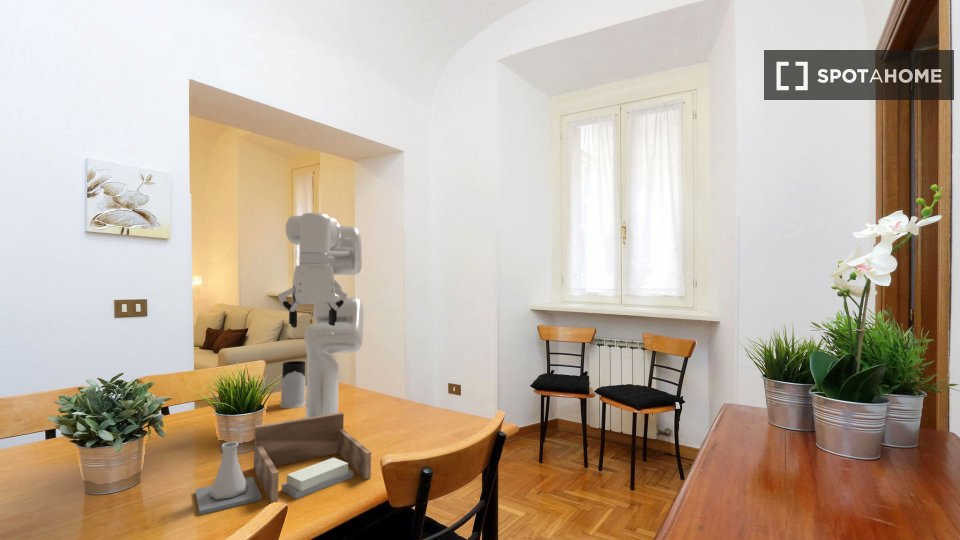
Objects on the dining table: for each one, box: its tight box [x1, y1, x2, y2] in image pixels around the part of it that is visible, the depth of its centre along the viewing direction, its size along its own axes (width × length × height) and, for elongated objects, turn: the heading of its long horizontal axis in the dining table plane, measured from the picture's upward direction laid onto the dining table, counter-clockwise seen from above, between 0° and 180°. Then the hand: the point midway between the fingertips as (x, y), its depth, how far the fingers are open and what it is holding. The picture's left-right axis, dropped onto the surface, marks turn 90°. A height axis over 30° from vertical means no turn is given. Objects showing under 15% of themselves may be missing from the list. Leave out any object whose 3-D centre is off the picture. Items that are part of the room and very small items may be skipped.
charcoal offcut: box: [281, 468, 354, 500], centre depth 103 cm, size 6×14×2 cm, turn 140°
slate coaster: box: [194, 476, 263, 516], centre depth 96 cm, size 11×11×1 cm
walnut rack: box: [253, 412, 372, 504], centre depth 109 cm, size 21×21×10 cm
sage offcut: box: [286, 457, 349, 491], centre depth 103 cm, size 5×12×2 cm, turn 144°
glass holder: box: [279, 360, 306, 409], centre depth 168 cm, size 9×14×15 cm, turn 25°
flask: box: [209, 441, 248, 499], centre depth 97 cm, size 7×7×10 cm
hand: (313, 326), depth 120 cm, fingers open, 9 cm apart
